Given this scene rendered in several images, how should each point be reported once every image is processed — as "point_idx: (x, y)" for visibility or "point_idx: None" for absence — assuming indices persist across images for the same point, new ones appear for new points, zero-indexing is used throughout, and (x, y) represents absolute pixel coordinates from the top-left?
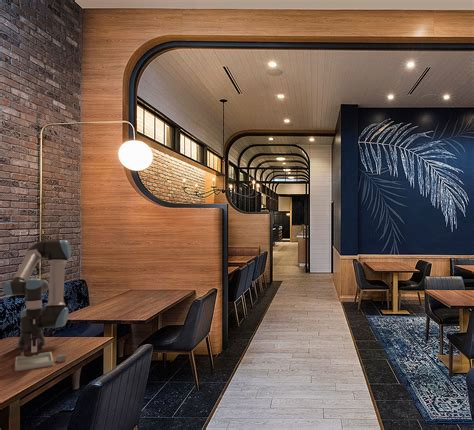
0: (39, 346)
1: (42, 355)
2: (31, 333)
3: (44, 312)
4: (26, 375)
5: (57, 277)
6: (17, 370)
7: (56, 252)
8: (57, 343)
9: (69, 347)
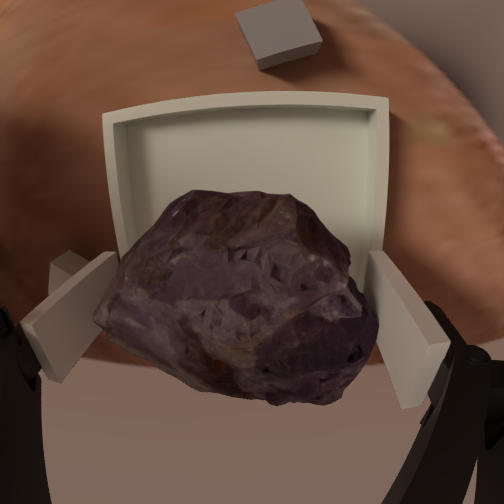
0: (337, 240)
1: (125, 177)
2: (40, 382)
3: None
4: (461, 270)
5: None
6: None
7: None
8: None
9: (14, 50)
